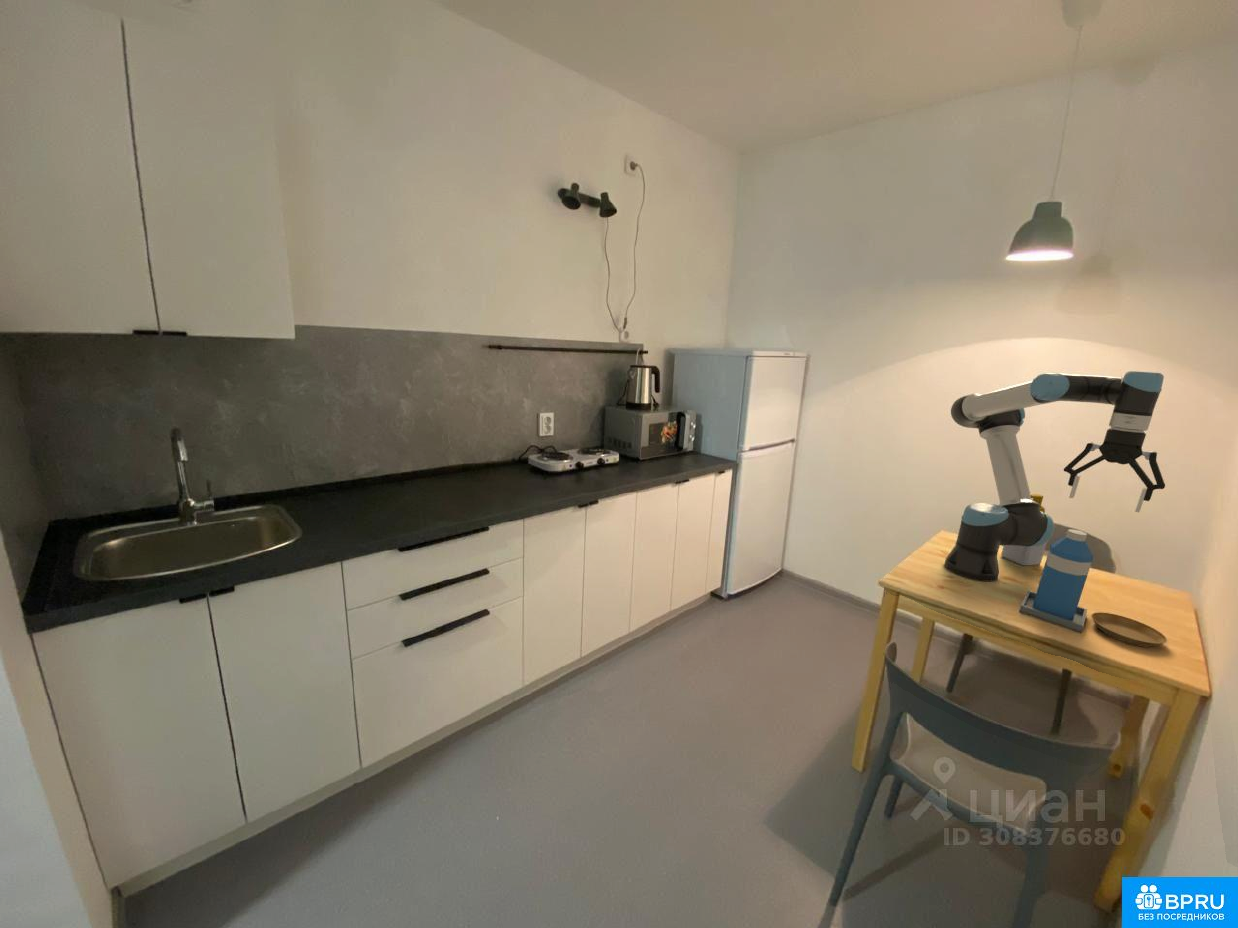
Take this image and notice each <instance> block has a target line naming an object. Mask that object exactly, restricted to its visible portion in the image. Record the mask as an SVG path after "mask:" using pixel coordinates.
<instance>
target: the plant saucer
mask: <svg viewBox="0 0 1238 928" xmlns="http://www.w3.org/2000/svg"><path fill="white" fill-rule="evenodd" d="M1090 616H1091V619H1092V621H1093V623H1094V624H1095V625H1096V626H1097V628H1098V629H1099V630H1100V631H1101V632H1103V633H1104V634H1106V635H1107V636H1109V637H1111V638H1113V639H1115V640H1118V641H1120V642H1124V643H1127V644H1130V645H1134V646H1138V647H1145V648H1147V647H1156V646H1160V645H1163V644H1165V643H1166V642H1167V641H1168V639H1167V636H1165V635H1164V634H1163V633H1162V632H1160V631H1159V630H1158V629H1156V628H1154V627H1152V626H1150V625H1147V624H1145V623H1144V622H1142V621H1141V622H1140V621H1139V620H1136V619H1132V618H1129V617H1128V616H1127V617H1126V616H1124V615H1121V614H1120V615H1119V614H1115V613H1109V612H1101V611H1100V612H1097V611H1096V612H1094V613H1092V614H1090Z"/></svg>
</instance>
